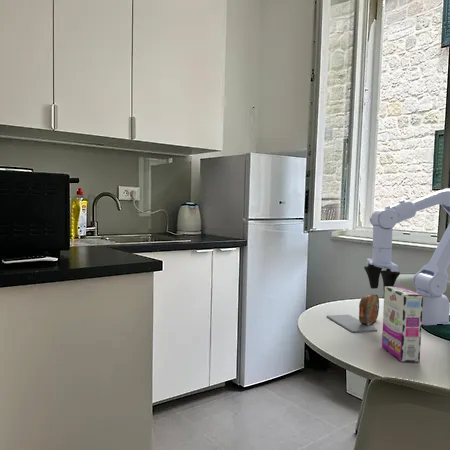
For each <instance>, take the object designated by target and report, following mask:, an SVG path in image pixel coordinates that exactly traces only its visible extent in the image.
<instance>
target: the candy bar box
mask: <svg viewBox="0 0 450 450" xmlns="http://www.w3.org/2000/svg"><path fill="white" fill-rule="evenodd" d="M384 288H385V290H384ZM383 292H384V293H383V294H384V296H383V312H382V313H383V314H382V315H383V316H382V333H381V336H382V337H381V348H382V349H384V351H386V352H387V353H389V354H391V355H392V356H393V357H394V358H395V359H397V360H398V361H400V362H401V363H419V362H420V361H421V346H422V345H421V342H422V340H421V339H422V325H423V324H422V309H423V295H421V294H418V293H417V292H416V291H414V290H410V289H408V288H405V287H403V286H388V287H383Z"/></svg>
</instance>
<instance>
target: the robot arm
mask: <svg viewBox="0 0 450 450" xmlns="http://www.w3.org/2000/svg"><path fill="white" fill-rule="evenodd" d="M437 205H441V207H442V208H443V209H444V210H445V212H446V213H447V214H448V215H449V217H450V187H446V188H444V189H440V190H437V191H434V192H431V193H429V194H427V195H425V196H423V197H420V198H419V199H418V198H417V199H416V200H414V201H410V200H408V199H406V200H405V199H400V200H398V203H396V204H393V205H386V206H385V207H384V209H376V210H375V211H373V212H372V214H371V216H370V217H369V223H370V224H371V226H372V249H371V250H372V252H371V253H372V255H371V256H372V257H371V258H366V262H365V263H366V265H365V266H363V268H364V271H365V272H366V275H367V277H368V282H369V286H370V287H369V288H370V289H371V290H372V289H378V288H379V283H380V276H381V278H382V283H383V284H382V285H383V291H384V290H385V288H384V287H388V286H394V285H395V284H396V281H397V279H398V277H399V276H400V275H401V272H400V271H399V265H398V264H396V263H394V262H392V261H393V260H392V255H393V254H392V252H393V228H394V227H395V226H396V225H397V224H399V223H401V222H404V221H406V220H410V219H411V218H415V216H416V214H417V212H420V211H422V210H425V209H427V208H431V207H433V206H434V207H435V206H437ZM449 266H450V222H449V223H448V225H447V228H446V229H445V230H444V233H443V234H442V237H441V239H440V241H439V243H438V245H437V247H436V248H435V250H434V252H433V254H432V257H431V258H430V260H429V262H427V263H426V264H424V265H423V266H421V268H420V270H419V271H418V272H416V273H415V274H414V275H413V278H412V285H413V287H414V288H415V292H416V293H418V294H421V295H423V309H422V325H423V326H438V325H437V324H443V325H450V300H449V298H448V297H447V295H445V294H444V293H446V291H447V289H448V288H447V287H448V285H447V284H448V281H449V278H450V276H449V273H448V271H447V270H448V267H449ZM383 269H384V270H383Z"/></svg>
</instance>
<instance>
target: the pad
mask: <svg viewBox="0 0 450 450" xmlns="http://www.w3.org/2000/svg"><path fill="white" fill-rule="evenodd" d="M326 318H327V319H329V320H331V321H332V322H334V323H335V324H337V325H339V326H341V327H342V328H344V329H345V330H348V331H349V332H350V333H356V334H357V333H370V332H371V333H372V332H378V329H377V328H375V327H374V326H372V325H368V324H362V323H360V321H359V318H356V317H354V316H352V315H351V314H331V315H329V314H327V315H326Z"/></svg>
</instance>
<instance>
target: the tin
mask: <svg viewBox="0 0 450 450" xmlns="http://www.w3.org/2000/svg"><path fill="white" fill-rule="evenodd" d="M358 306H359V307H358V308H359V309H358V310H359V311H358V320H359V321H360V323H362V324H367V325H369V326H371V325H372V324H373V323H374V322H376V321H377V319H378V316H379V311H380V310H379V309H380V298H379V295H378V294H372V293H371V294H367V295H365V296H363V297H361V299H360V301H359V303H358Z"/></svg>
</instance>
